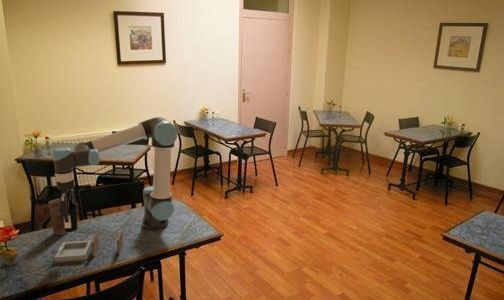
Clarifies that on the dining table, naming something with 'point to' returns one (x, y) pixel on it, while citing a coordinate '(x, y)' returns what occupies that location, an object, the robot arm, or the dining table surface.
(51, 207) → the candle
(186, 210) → the dining table surface
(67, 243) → the dock
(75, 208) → the cup
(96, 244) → the beige holder
